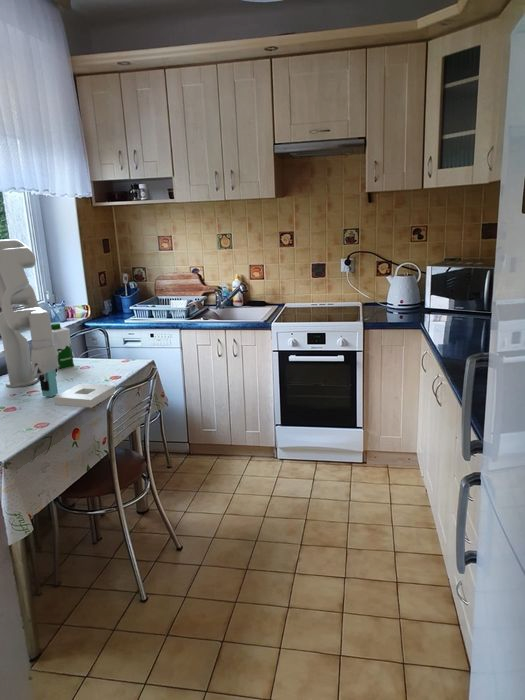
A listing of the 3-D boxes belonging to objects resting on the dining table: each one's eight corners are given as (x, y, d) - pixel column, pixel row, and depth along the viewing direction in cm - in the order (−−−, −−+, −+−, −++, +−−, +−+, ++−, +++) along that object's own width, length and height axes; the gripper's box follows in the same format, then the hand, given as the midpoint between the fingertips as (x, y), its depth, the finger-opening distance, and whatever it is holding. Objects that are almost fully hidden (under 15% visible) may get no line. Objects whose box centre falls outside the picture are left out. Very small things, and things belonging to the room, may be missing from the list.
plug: (49, 392, 210) (46, 368, 207) (58, 393, 209) (54, 369, 206) (42, 395, 206) (39, 371, 204) (51, 396, 205) (47, 372, 202)
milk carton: (67, 362, 254) (62, 322, 249) (76, 366, 248) (71, 324, 243) (50, 367, 248) (43, 325, 243) (59, 370, 242) (52, 327, 237)
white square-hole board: (89, 385, 218) (88, 378, 217) (123, 388, 213) (123, 381, 213) (54, 404, 198) (53, 397, 197) (91, 407, 193) (90, 399, 192)
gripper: (49, 337, 211) (55, 381, 216) (19, 348, 195) (26, 395, 200) (65, 338, 209) (70, 382, 214) (36, 349, 193) (43, 396, 198)
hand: (49, 387), depth 207 cm, fingers closed on plug, 4 cm apart
